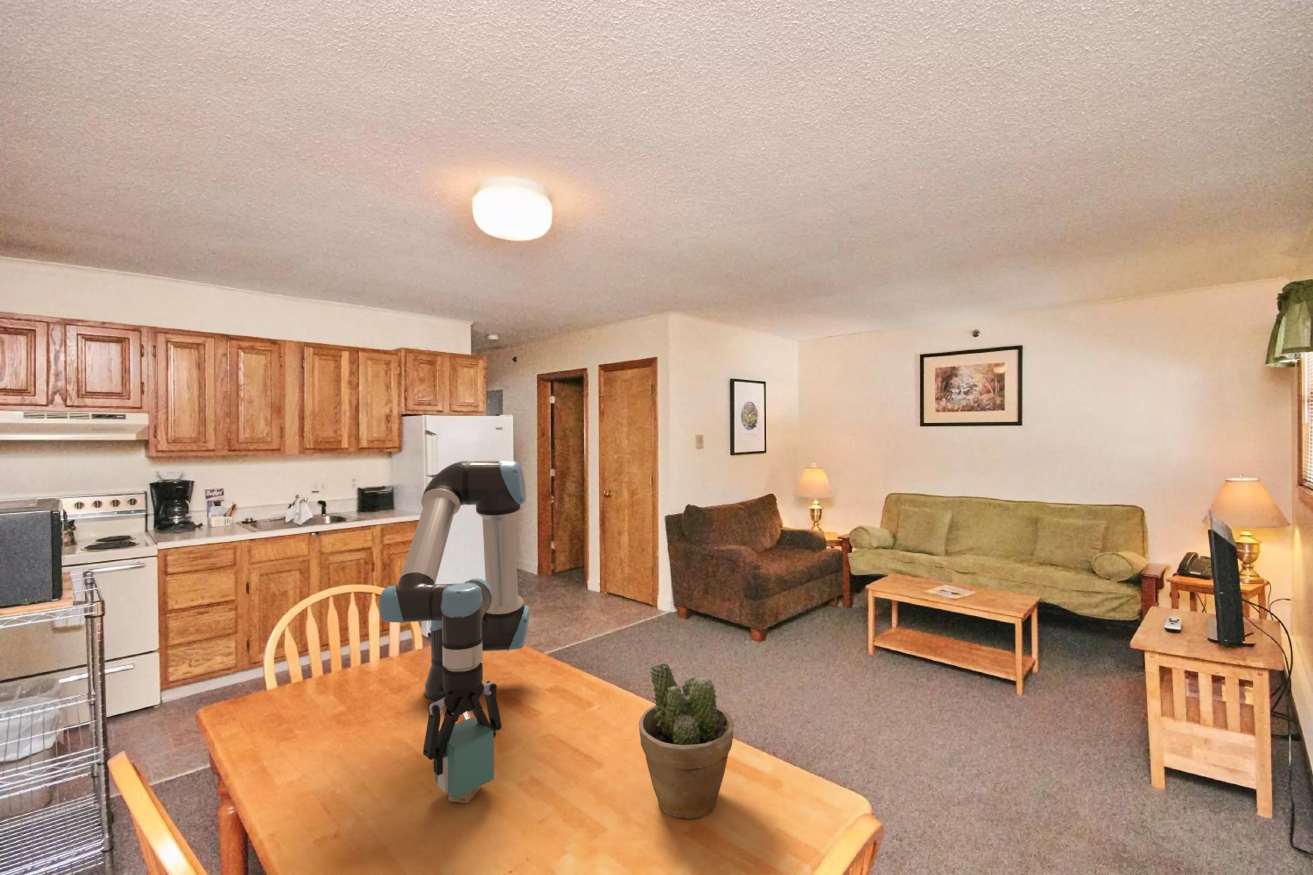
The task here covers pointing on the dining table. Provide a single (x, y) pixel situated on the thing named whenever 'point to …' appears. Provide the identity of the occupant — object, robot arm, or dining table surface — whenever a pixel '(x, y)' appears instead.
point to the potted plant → (685, 744)
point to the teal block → (469, 757)
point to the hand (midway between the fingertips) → (464, 777)
